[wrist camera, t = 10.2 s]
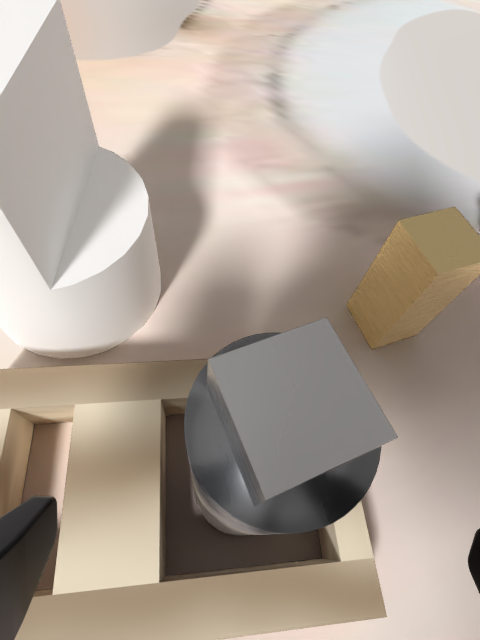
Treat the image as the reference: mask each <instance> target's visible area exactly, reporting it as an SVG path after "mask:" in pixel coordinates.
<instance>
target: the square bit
mask: <svg viewBox="0 0 480 640" xmlns="http://www.w3.org/2000/svg"><path fill="white" fill-rule="evenodd" d="M479 275H480V236H479V235H478V233H477V232H476V231H475V230H474V229H473V227H472V226H471V225H470V224H469V223H468V221H467V220H466V219H465V218H464V217H463V215H462V214H461V213H460V212H459V211H458V209H457V208H456V207H451V208H447V209H443V210H438V211H434V212H430V213H426V214H422V215H418V216H413V217H409V218H405V219H401V220H399V221H398V222H397V224H396V225H395V227H394V229H393V230H392V232H391V234H390V235H389V237H388V238H387V240H386V242H385V243H384V245H383V247H382V248H381V250H380V252H379V253H378V255H377V256H376V258H375V260H374V261H373V263H372V265H371V266H370V268H369V269H368V271H367V273H366V274H365V276H364V278H363V279H362V281H361V282H360V284H359V286H358V287H357V289H356V291H355V292H354V294H353V295H352V297H351V299H350V300H349V302H348V304H347V305H346V306H347V307H348V309H349V311H350V313H351V314H352V316H353V318H354V320H355V321H356V323H357V325H358V327H359V328H360V330H361V332H362V334H363V335H364V337H365V339H366V341H367V343H368V344H369V346H370V348H371V350H372V349H375V348H378V347H381V346H384V345H388V344H391V343H394V342H397V341H400V340H403V339H406V338H409V337H412V336H415V335H417V334H418V333H419V332H420V331H421V330H422V329H423V328H424V327H425V326H426V325H428V324H429V323H430V322H431V321H432V320H433V319H434V318H435V317H436V316H437V315H438V314H439V313H440V312H441V311H442V310H443V309H444V308H445V307H446V306H447V305H448V304H450V303H451V302H452V301H453V300H454V299H455V298H456V297H457V296H458V295H459V294H460V293H461V292H462V291H463V290H464V289H465V288H466V287H467V286H468V285H469V284H470V283H472V282H473V281H474V280H475V279H476V278H477V277H478V276H479Z"/></svg>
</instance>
